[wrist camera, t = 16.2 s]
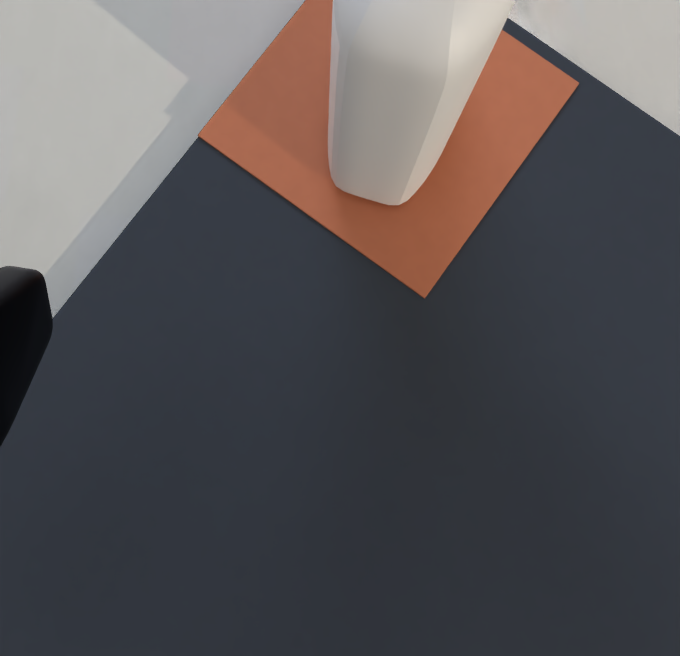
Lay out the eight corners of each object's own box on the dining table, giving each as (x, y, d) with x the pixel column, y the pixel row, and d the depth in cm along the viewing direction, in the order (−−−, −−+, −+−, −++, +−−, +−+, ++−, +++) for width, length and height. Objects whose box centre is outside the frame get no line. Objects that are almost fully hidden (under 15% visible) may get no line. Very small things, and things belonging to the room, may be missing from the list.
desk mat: (919, 308, 18) (932, 307, 18) (480, 1037, 16) (485, 1052, 15) (369, -71, 19) (370, -81, 19) (-135, 558, 17) (-146, 562, 16)
